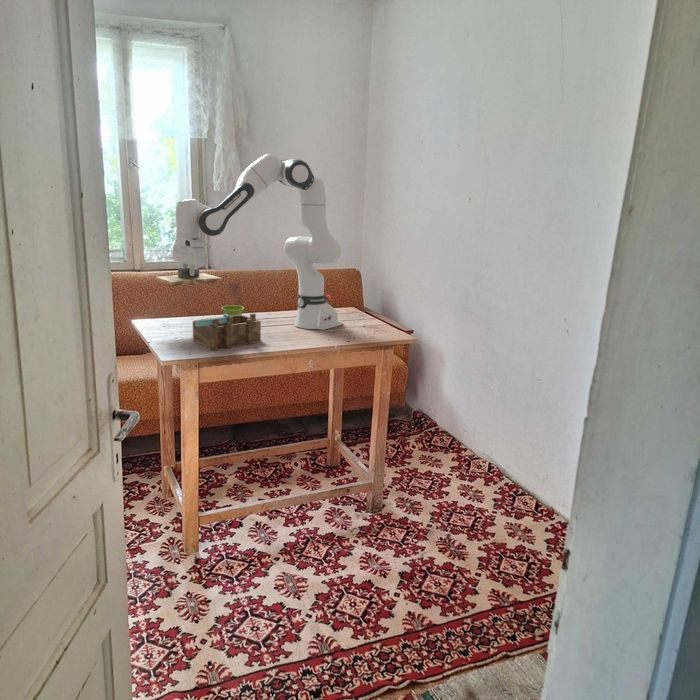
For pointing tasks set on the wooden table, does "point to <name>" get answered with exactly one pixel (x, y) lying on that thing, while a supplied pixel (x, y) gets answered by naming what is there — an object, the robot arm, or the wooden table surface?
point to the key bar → (211, 321)
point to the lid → (188, 278)
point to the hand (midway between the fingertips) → (188, 275)
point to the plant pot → (233, 310)
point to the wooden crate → (228, 332)
